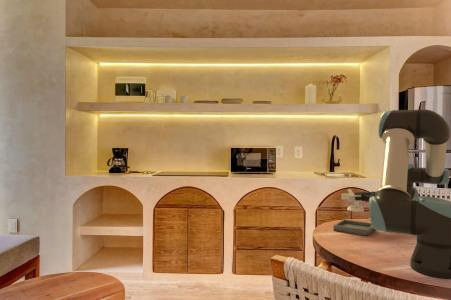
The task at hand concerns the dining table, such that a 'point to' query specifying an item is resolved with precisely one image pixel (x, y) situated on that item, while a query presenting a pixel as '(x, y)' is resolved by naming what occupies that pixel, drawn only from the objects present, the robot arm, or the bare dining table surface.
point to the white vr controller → (355, 205)
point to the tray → (354, 227)
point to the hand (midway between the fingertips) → (345, 197)
